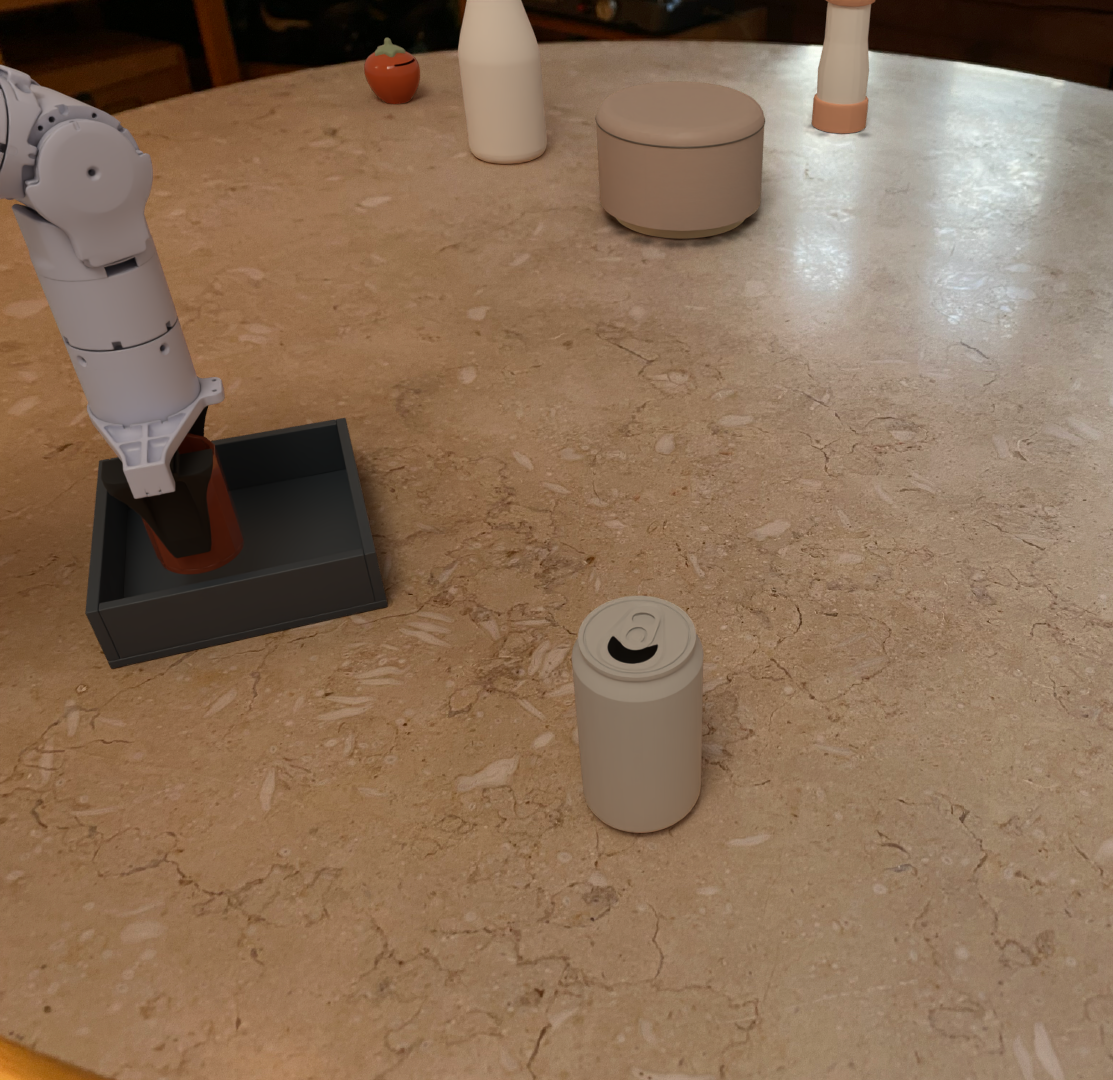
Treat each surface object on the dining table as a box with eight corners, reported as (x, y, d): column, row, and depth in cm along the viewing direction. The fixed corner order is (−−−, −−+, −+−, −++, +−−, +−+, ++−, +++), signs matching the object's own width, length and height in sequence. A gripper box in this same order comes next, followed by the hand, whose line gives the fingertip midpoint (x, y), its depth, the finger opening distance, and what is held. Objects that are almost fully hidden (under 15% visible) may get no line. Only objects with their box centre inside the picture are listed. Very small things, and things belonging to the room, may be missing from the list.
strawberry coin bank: (397, 111, 146) (387, 48, 141) (357, 101, 149) (346, 39, 144) (435, 97, 151) (427, 35, 146) (396, 88, 154) (386, 27, 149)
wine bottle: (527, 170, 130) (501, -120, 112) (456, 160, 133) (418, -126, 114) (560, 145, 138) (540, -132, 119) (492, 135, 140) (462, -138, 121)
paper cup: (159, 583, 66) (121, 489, 61) (159, 533, 70) (124, 442, 65) (246, 564, 67) (215, 472, 63) (242, 517, 71) (213, 426, 67)
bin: (110, 669, 66) (84, 613, 63) (120, 513, 77) (98, 460, 75) (388, 606, 70) (375, 552, 68) (357, 468, 82) (345, 417, 79)
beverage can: (567, 827, 57) (549, 667, 50) (605, 736, 62) (595, 578, 55) (683, 853, 56) (684, 694, 49) (713, 759, 61) (718, 601, 54)
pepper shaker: (801, 125, 145) (811, -34, 133) (830, 112, 150) (843, -43, 138) (847, 137, 142) (862, -25, 130) (876, 123, 146) (893, -35, 134)
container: (789, 228, 119) (796, 118, 111) (636, 255, 112) (633, 141, 105) (718, 172, 131) (720, 70, 124) (577, 194, 125) (570, 88, 118)
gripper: (203, 378, 55) (268, 582, 63) (198, 260, 65) (254, 449, 74) (46, 403, 52) (135, 611, 61) (67, 277, 63) (140, 469, 71)
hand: (192, 524), depth 67 cm, fingers closed on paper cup, 5 cm apart
